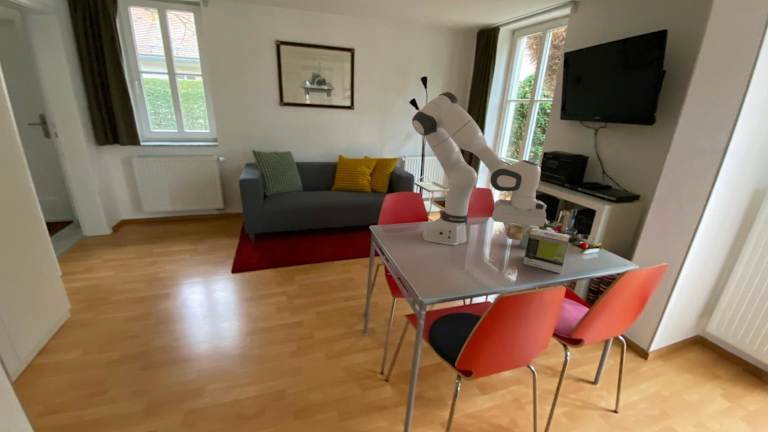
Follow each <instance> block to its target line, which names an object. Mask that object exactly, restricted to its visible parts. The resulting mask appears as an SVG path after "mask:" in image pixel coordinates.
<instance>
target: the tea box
mask: <svg viewBox="0 0 768 432" xmlns="http://www.w3.org/2000/svg"><path fill="white" fill-rule="evenodd" d="M546 230H547V229H546ZM546 230H545V229H541V228H539V229H536V228H532V230H531V232H530V233H529V237H528V242H527V247H526V249H525V253H524V258H523V264H524V265H527V266H530V267H534V268H539V269H543V270H546V271H550V272H553V273H558V274H561V273H562V270H563V266H564V261H565V258H566V254H567V249H568V245H569V239H570V234H566V233H561V232H560V233H559V232H556V231H555V232H551V231H546Z"/></svg>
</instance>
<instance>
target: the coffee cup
mask: <svg viewBox="0 0 768 432" xmlns="http://www.w3.org/2000/svg"><path fill="white" fill-rule="evenodd" d="M520 225H521V224H520ZM521 226H522V227H523V228H525V227H526V226H525V225H521ZM532 228H536V229H540V227H539V226H530V228H529V229H528V230H527V231H526V233H525V235H523V237H522V240H519V247H520V248H522V249H525V250H526V247H527V242H528V237H529V233H530V232H531V230H532Z"/></svg>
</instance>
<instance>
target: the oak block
mask: <svg viewBox="0 0 768 432" xmlns="http://www.w3.org/2000/svg"><path fill="white" fill-rule="evenodd" d="M507 228H509V229H510V231H509V233H505V235H506V236H507V238H508V239H509V240H516V241H520V240H522V237H523V232H524V228H523V227H522V226H521V224H513V223H508V225H507Z"/></svg>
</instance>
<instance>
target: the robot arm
mask: <svg viewBox="0 0 768 432" xmlns="http://www.w3.org/2000/svg"><path fill="white" fill-rule="evenodd" d="M411 119H412V120H411V121H412V122H411V123H412V126H413V129H414V131H415V132H416V133H417V134H418V135H421V136H424V138H425V140H426V143H427V145H428V146H429V147H430V149H431V150H432V152H433V154H434V155H435V157H436V159H437V160H438V162H439V164H440V166H441V169H442V170H443V171H444V174H445V175H446V177H447V179H448V180H449V181H450V187H449V190H448V193H447V195H446V199H445V207H444V210H443V209H440V210H439V214H440V215H439V217H438V218H436V219H434V221H433V220H432V221H431V222H430V223H429V224H428V226H427V229H426V230H424V231H422V235H421V236H422V239H423V240H424V241H425V242H431V243H437V244H442V245H446V246H447V245H448V246H454V247H455V246H458V245H461V244H465V243H467V240H468V239H467V233H466V232H467V224H468V218H469V214H468V210H469V205H470V199H471V196H472V193H473V190H474V187H475V186H476V185H477V183H478V180H479V179H478V178H479V177H478V174H477V171H476V170H475V169H474V168H473V166H470V165H469V164H468V163H467V162H466V161H465V158H464V156H463V154H462V152H461V150H460V149H462V150H463V151H466V152H467V151H468V152H470V153H472V154H474V155H475V156H476V157H478V158H479V160H480V161H481V162H482V163H483V165H485V167H486V168H487V169H488V170H489V173H490V179H489V180H490V185H491V186H492V188H493V189H495V191H498V192H511V196H510V199H498V200H497V199H496V201H494V204H493V208H494V209H493V212H492V215H491V218H492V221H493V222H497V223H503V226H504V233H505V234H506V233H509V231H510V229H509V228H508V224H518V225H525V226H526V227H525V228H524V232H523V235H525V233H526V231H527V230H528V229H529V228H530V226H539V228H542V227H543V226H545V223H546V218H547V212H546V209H547V205H546V204H545V203H544V202H543V201H541V200H539V199H537V198H536V196H537V195H536V194H537V189H538V187H539V184H540V181H541V180H540V179H541V175H542V174H541V173H542V169H541V167H540V165H539V164H538V163H536V162H534V161H532V160H527V159H522V160H520V161H519V162H515V163H513V164H510V163H508V162H507V161H504V160H502V158H501V157H500V156H499V155H498V154H497V153H496V152H495V151H494V149H493V148H492V147H491V146H490V145H489V143H488V141H487V140H486V137H485V136H484V134H483V131H482V129H481V128H480V127H479V125H478V123H477V122H476V121H475V120H474V119H473V117H472V116H471V115H470V114H469V113H468V112H467V111H466V110H465V109H464V108H463V107H462V106H460V104H459V100H458V98H457V96H456V95H455V94H454V93H452V92H451V91H445V92H442V93H440V94H439V95H438V96H436V97H434V98H432V99H431V100H430V101H429V102H427V104H426V105H424V106H423V107H422V108H421V109H420V110H419V111H417V112H416V113H415V114H414V116H413V117H412V118H411Z"/></svg>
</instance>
